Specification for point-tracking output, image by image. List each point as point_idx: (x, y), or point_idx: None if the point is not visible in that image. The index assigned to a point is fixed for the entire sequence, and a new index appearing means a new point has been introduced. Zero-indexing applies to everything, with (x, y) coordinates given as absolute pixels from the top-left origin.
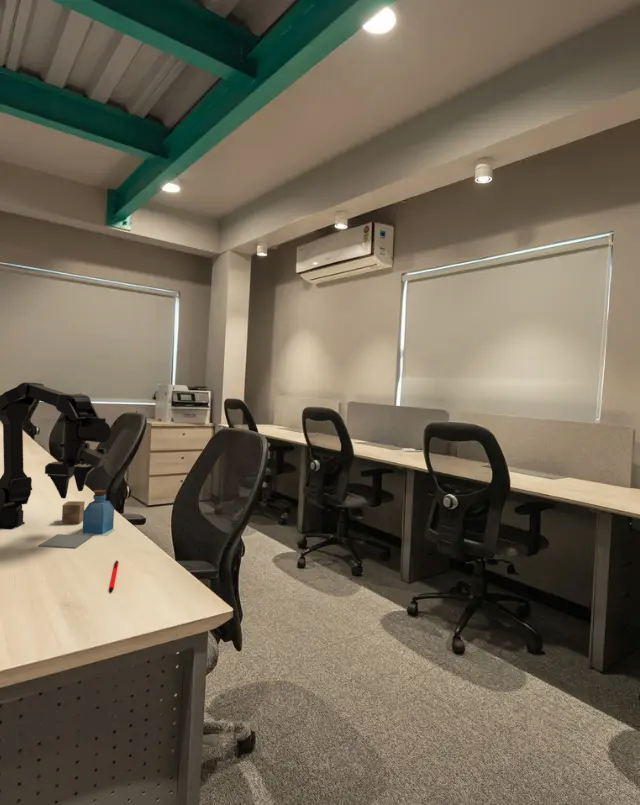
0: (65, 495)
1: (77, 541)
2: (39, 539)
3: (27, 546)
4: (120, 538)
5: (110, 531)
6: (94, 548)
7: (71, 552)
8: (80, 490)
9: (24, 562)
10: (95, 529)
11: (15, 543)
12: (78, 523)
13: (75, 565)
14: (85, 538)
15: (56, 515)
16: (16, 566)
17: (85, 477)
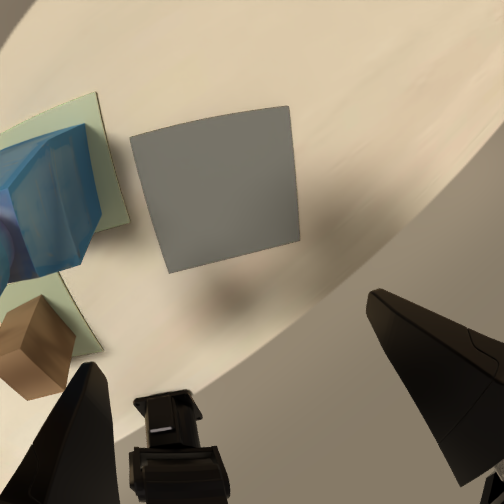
0: (398, 297)
1: (220, 144)
2: (229, 287)
3: (300, 267)
4: (101, 23)
5: (39, 124)
6: (261, 40)
7: (324, 97)
8: (98, 372)
9: (412, 179)
10: (85, 161)
11: (283, 311)
12: (41, 298)
13: (411, 36)
14: (172, 140)
15: None
16: (432, 179)
17: (53, 471)
